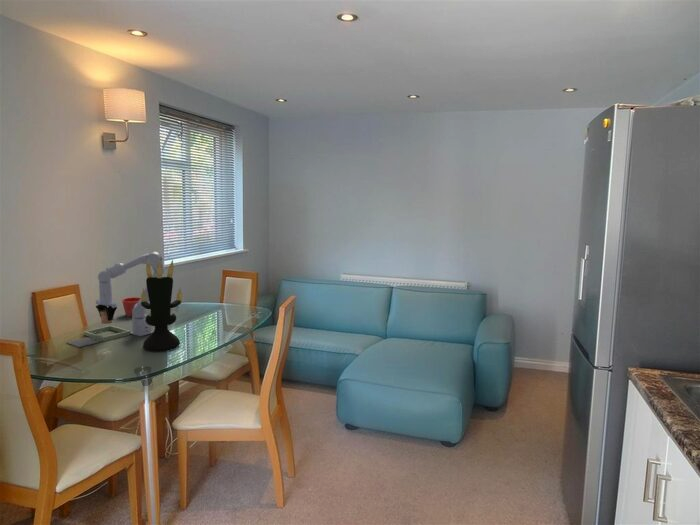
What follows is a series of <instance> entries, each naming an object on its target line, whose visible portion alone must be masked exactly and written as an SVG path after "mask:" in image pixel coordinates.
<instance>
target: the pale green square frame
mask: <svg viewBox="0 0 700 525" xmlns="http://www.w3.org/2000/svg"><path fill="white" fill-rule="evenodd" d="M109 329H111V330H109ZM105 330H107V331H113V332H117V331H118V332H117V333H114V334H110V335H105V336H103V335H99V334H97V333H95V332H99V333H101V332H100V331H103V332H106V331H105ZM120 332H121V333H120ZM131 332H132V331H131V330H128V329H125V328H121V327H119V326H114V325H106V326H103V327H98V328H93V329H89V330H85V331H83V336H84V335H86V336H85V337H87V336H90V338H91V337H92V338H93V339H94V338H95V339H96V340H97V339H98V340H101V342H103V341H104V342H107V341H111V340H115V339H119V338H123V337H126V335H127V336H131V335H132V334H131ZM93 333H94V334H93ZM130 334H131V335H130ZM122 336H123V337H122ZM118 337H119V338H118ZM114 338H115V339H114ZM106 340H107V341H106Z"/></svg>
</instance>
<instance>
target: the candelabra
mask: <svg viewBox="0 0 700 525" xmlns="http://www.w3.org/2000/svg"><path fill="white" fill-rule="evenodd" d="M145 265H146V266H145V271H146V277H147V278H146V280H145V284H146V287H147V291H148V296H149V302H146V294H145V292H144V290H145V288H142V293H141V295H140V298H141V305H142V306H143V307H144V308H146V310H150V313H148V314H147V316H146V319H145V321H146V323H147V324H148V325H151V327H154V331H152V332H153V333H150V334H149V335H148V336H147V337H146V338H145V340H144V341H143V344H142V347H143V349H145V351H148V352H155V353H156V352H157V353H158V352H160V351H161V352H167V350H169V351H172V350H175V349H177V348H178V347H179V346H180V344H181V342H180V339H179V338H178V336H176V334H174V333H172V332H171V331H170V330H169V327H168V326H170V325H174V323H175V322H176V321H177V316H176V314H175V313H174V312H172V311H171V309H174V308H177V307H178V306H180V305H181V304H182V303H183V295H182V294H183V293H182V289H181V287H179V289H178V291H177V293H176V300H174V301H172V295H173V294H172V293H173V288H174V287H173V285H174V278H173V275H174V259H172V260H171V263H170V264H169V267H168V269H167V273H166V276H163V275H162V266H161V264H160V260H159V263H158V266H157V277H152V275H153V272H152V270H153V268H152V266H151V265H150V264H149V262H148V260H147V264H145ZM176 347H177V348H176ZM174 348H175V349H174ZM171 349H172V350H171Z"/></svg>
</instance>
